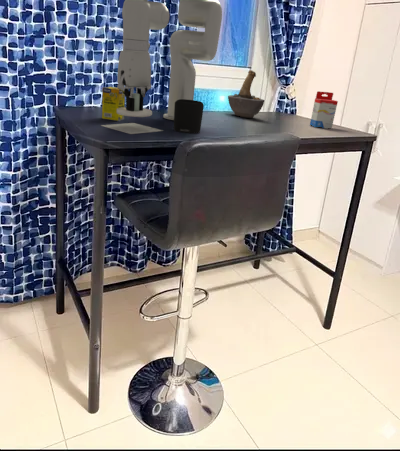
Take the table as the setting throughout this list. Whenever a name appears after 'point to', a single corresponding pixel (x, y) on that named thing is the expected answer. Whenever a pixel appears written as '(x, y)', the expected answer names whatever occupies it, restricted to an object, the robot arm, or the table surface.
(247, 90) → the mortar and pestle
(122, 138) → the table surface
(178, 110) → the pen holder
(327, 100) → the ink box
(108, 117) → the supplement box
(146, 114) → the lid
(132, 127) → the mat
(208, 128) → the table surface
